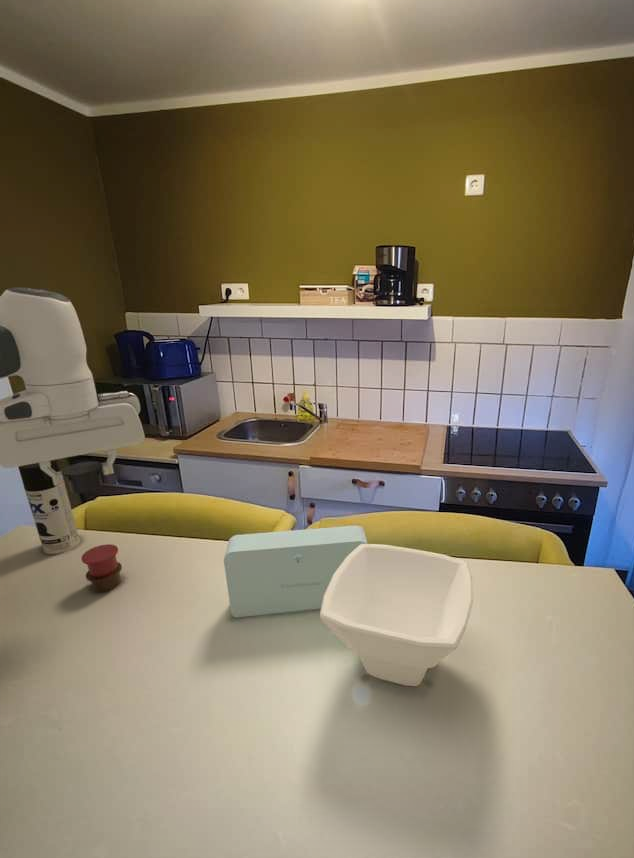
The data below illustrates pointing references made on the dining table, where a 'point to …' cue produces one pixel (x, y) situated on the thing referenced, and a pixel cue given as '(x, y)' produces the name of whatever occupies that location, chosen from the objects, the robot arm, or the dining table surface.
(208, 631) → the dining table surface
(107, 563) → the pod burgundy
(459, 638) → the bowl
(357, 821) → the dining table surface
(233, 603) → the mint green box
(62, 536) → the spray can
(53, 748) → the dining table surface
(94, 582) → the pod brown
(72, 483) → the pod black
